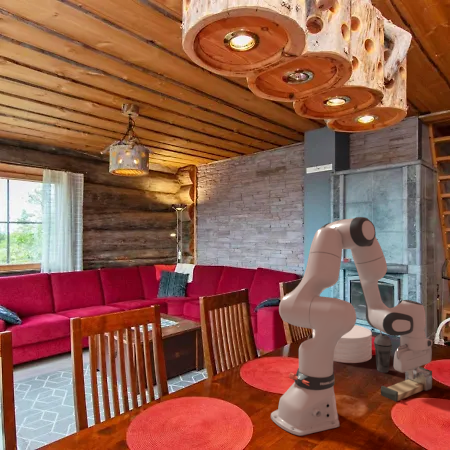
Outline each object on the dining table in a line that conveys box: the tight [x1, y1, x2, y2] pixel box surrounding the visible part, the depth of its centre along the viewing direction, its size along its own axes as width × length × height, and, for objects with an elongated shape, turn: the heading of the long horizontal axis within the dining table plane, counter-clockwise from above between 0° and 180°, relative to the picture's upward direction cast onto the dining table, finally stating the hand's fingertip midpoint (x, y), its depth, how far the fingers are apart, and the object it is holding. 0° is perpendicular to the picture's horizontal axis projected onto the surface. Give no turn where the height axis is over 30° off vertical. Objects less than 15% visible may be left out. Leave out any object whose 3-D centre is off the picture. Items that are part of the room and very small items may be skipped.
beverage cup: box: [373, 330, 393, 373], centre depth 158 cm, size 7×7×20 cm
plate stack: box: [312, 324, 373, 364], centre depth 181 cm, size 28×28×12 cm
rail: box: [380, 366, 433, 402], centre depth 138 cm, size 24×6×6 cm, turn 123°
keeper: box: [404, 369, 433, 391], centre depth 142 cm, size 4×8×6 cm, turn 33°
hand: (412, 378), depth 140 cm, fingers closed
